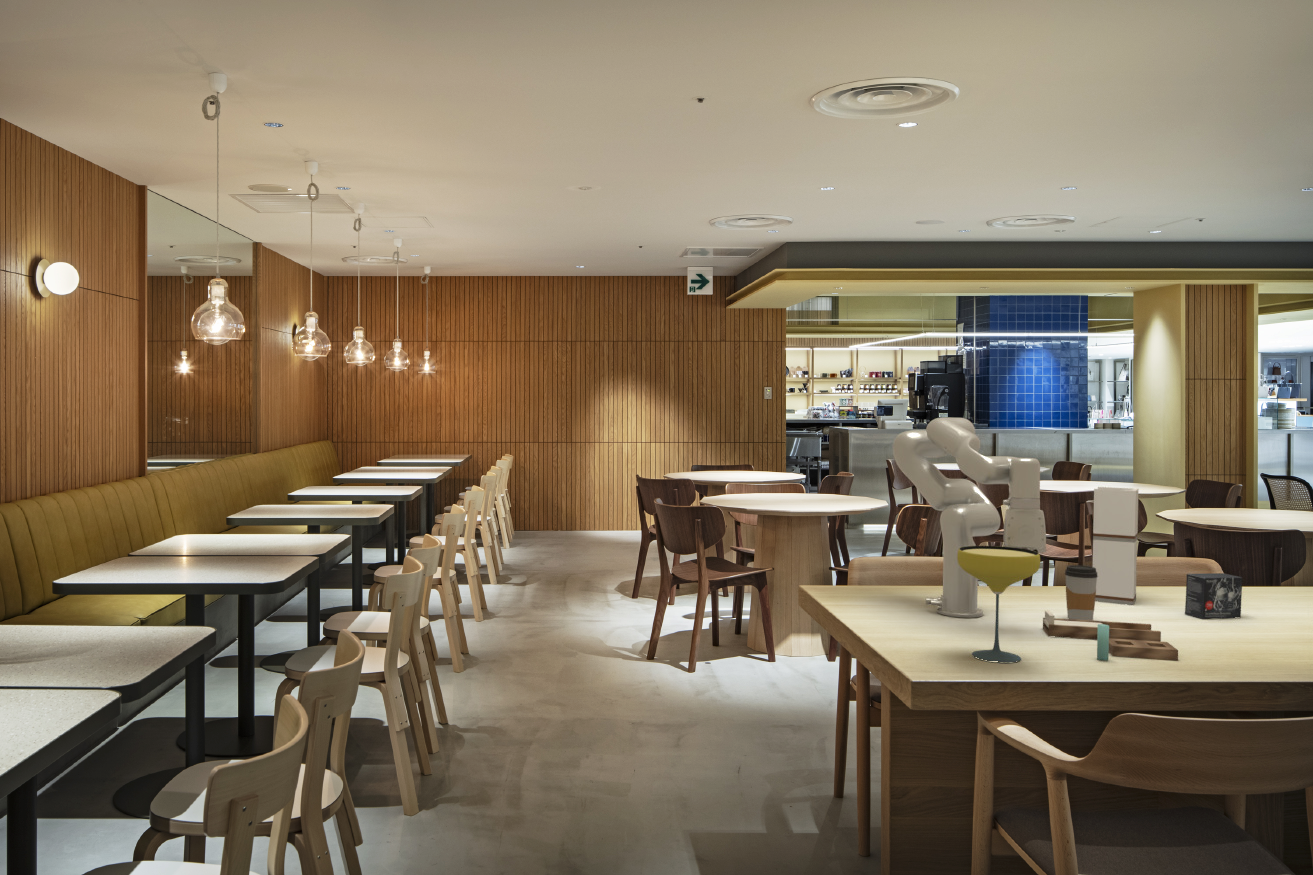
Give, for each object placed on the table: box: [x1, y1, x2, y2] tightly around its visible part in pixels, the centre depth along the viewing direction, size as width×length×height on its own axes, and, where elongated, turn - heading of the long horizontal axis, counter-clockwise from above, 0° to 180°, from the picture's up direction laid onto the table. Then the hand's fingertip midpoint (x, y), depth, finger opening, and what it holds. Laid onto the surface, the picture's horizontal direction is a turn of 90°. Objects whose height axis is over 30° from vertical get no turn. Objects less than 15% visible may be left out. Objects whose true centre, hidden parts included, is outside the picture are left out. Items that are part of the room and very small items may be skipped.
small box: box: [1184, 572, 1243, 620], centre depth 256 cm, size 13×7×12 cm, turn 102°
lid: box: [1044, 610, 1102, 628], centre depth 231 cm, size 14×6×3 cm, turn 76°
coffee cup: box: [1064, 564, 1098, 621], centre depth 248 cm, size 8×8×15 cm
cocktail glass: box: [957, 545, 1041, 663], centre depth 208 cm, size 18×18×25 cm
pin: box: [1096, 624, 1110, 662], centre depth 207 cm, size 2×2×8 cm
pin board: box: [1109, 638, 1179, 661], centre depth 212 cm, size 14×8×2 cm, turn 76°
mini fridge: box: [1092, 486, 1139, 606], centre depth 277 cm, size 11×11×35 cm
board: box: [1042, 617, 1162, 642], centre depth 230 cm, size 26×9×3 cm, turn 76°
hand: (1023, 573), depth 234 cm, fingers closed
